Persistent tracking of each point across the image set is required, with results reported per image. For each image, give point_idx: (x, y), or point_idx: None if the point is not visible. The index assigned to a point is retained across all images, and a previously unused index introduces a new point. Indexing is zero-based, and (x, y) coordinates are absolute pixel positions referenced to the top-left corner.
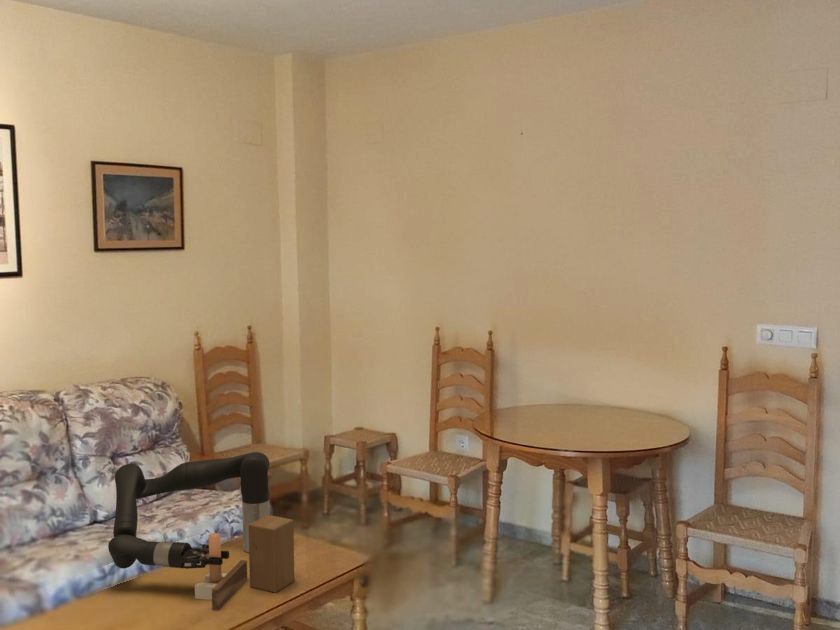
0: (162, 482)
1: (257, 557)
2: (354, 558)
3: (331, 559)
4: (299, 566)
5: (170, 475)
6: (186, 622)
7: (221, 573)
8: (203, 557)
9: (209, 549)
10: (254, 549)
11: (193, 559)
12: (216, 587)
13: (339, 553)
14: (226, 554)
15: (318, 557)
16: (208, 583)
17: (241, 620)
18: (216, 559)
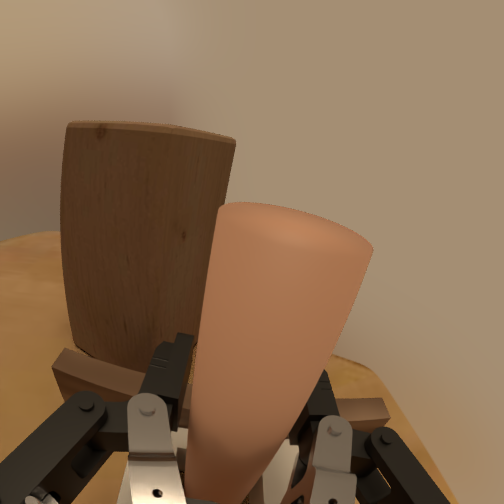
0: None
1: (181, 275)
2: (58, 236)
3: (43, 253)
4: (46, 290)
5: None
6: (440, 473)
7: (127, 467)
8: (350, 458)
9: (308, 397)
10: (176, 249)
11: (424, 495)
12: (370, 410)
13: (26, 245)
14: (190, 354)
15: (22, 264)
16: (269, 501)
17: (368, 373)
18: (319, 379)
